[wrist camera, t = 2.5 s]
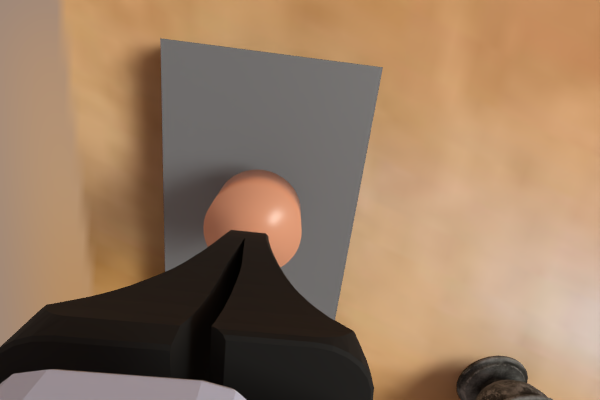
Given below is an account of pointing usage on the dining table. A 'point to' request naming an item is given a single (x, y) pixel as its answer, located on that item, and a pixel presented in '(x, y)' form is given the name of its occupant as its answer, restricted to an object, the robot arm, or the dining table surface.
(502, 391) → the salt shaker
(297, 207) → the knob
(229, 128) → the control board
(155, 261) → the dining table surface
